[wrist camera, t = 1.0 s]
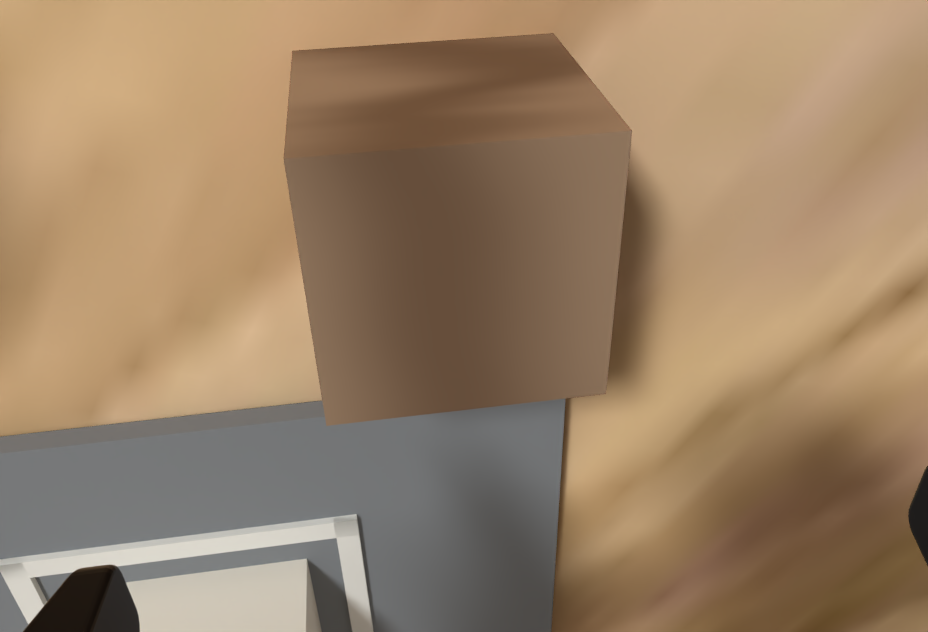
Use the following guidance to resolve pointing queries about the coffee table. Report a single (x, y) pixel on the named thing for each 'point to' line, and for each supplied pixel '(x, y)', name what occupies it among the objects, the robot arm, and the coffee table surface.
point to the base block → (230, 600)
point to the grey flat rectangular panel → (300, 510)
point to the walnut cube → (455, 223)
